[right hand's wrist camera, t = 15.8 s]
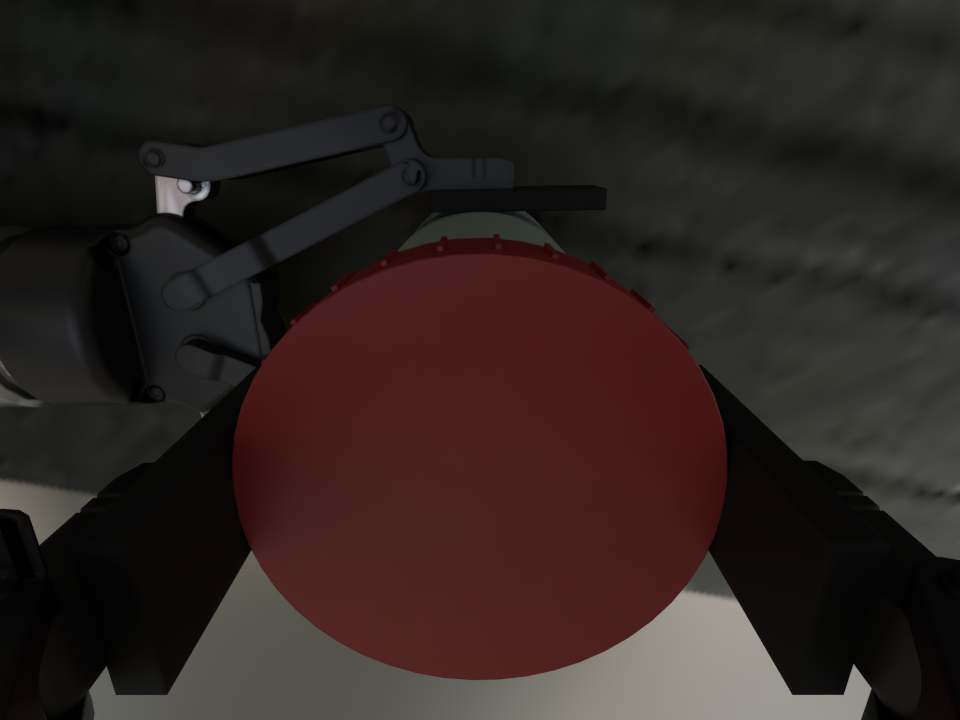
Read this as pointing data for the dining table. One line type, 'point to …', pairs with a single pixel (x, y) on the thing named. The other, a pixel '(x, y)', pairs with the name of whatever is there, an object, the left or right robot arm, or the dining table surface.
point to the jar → (480, 228)
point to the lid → (479, 461)
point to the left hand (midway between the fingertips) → (591, 309)
